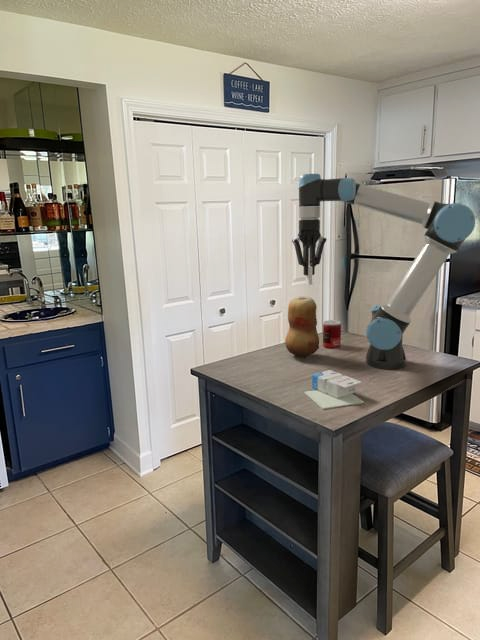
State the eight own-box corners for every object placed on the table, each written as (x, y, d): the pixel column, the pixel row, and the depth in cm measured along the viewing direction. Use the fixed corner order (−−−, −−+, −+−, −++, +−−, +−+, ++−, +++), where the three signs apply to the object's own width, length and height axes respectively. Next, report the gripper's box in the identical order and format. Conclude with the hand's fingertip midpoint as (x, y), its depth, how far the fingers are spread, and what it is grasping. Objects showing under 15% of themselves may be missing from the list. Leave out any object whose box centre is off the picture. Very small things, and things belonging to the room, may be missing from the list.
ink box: (311, 388, 157) (343, 402, 145) (311, 374, 156) (344, 387, 144) (330, 382, 162) (362, 395, 150) (330, 369, 160) (363, 381, 148)
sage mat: (342, 387, 158) (342, 386, 158) (364, 403, 145) (364, 402, 145) (304, 392, 154) (304, 391, 154) (322, 409, 141) (322, 408, 141)
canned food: (342, 344, 208) (342, 320, 205) (338, 349, 201) (338, 325, 198) (325, 343, 211) (325, 319, 208) (320, 348, 204) (321, 323, 201)
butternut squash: (283, 360, 188) (282, 300, 182) (287, 351, 200) (287, 294, 195) (317, 362, 184) (318, 300, 179) (320, 352, 197) (320, 294, 191)
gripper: (321, 218, 172) (320, 281, 177) (288, 219, 169) (288, 283, 174) (330, 218, 165) (329, 284, 170) (296, 219, 162) (296, 286, 167)
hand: (308, 284), depth 172 cm, fingers closed
